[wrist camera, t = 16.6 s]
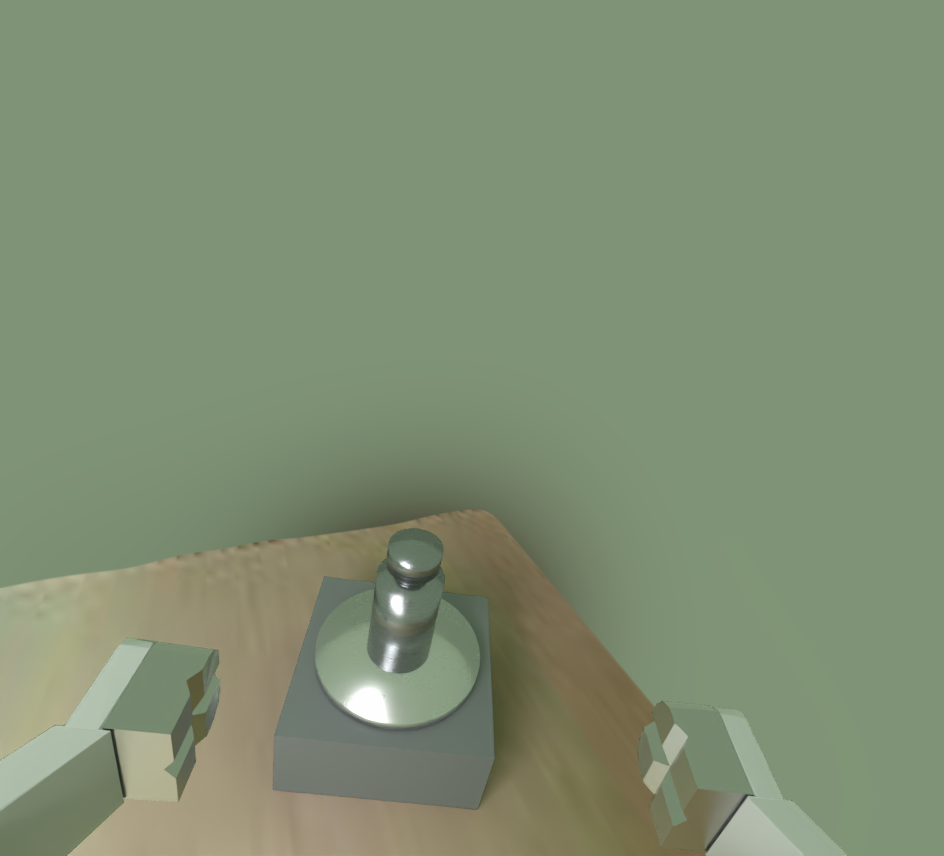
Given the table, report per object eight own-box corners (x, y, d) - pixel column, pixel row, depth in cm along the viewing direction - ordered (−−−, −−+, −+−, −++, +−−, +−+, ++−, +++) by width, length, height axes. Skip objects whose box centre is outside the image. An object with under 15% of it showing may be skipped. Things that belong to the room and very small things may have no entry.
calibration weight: (362, 669, 39) (376, 565, 35) (371, 618, 43) (385, 519, 39) (428, 676, 40) (450, 575, 35) (431, 625, 44) (451, 528, 39)
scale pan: (294, 720, 36) (295, 712, 36) (333, 585, 47) (334, 578, 46) (479, 740, 37) (481, 732, 37) (476, 603, 48) (478, 596, 47)
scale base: (272, 789, 38) (274, 735, 35) (321, 621, 51) (325, 571, 48) (477, 809, 39) (494, 758, 37) (475, 640, 52) (487, 592, 49)
